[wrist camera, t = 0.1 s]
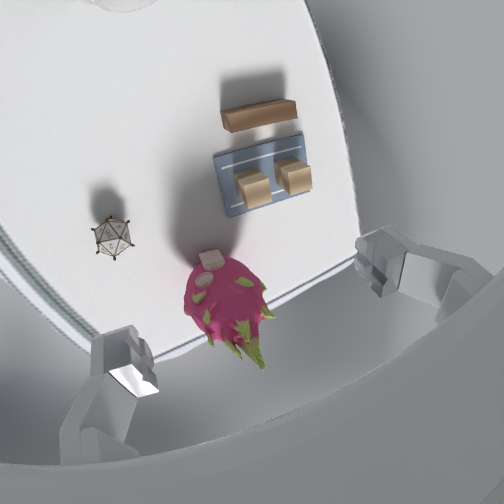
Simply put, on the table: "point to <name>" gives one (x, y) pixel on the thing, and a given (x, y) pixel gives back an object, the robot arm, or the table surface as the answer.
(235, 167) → the blueprint board
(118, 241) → the game die
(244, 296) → the pink dragon fruit
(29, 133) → the table surface
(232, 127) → the walnut lintel
